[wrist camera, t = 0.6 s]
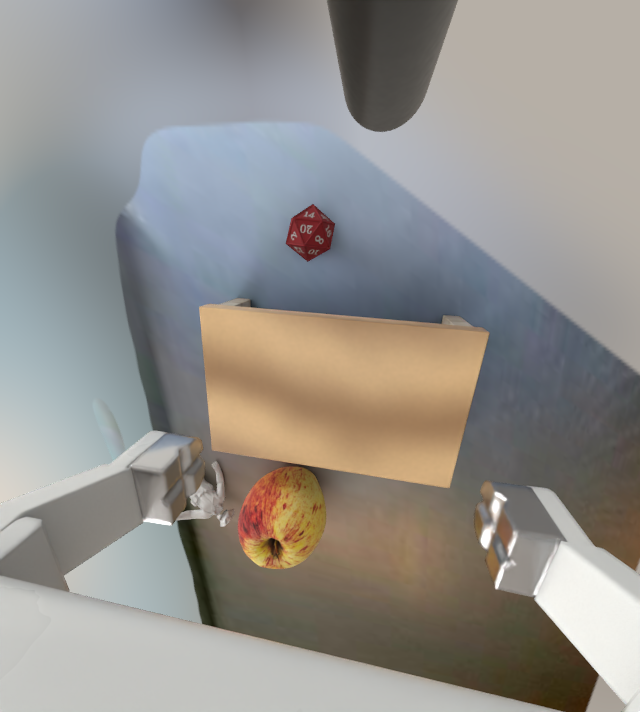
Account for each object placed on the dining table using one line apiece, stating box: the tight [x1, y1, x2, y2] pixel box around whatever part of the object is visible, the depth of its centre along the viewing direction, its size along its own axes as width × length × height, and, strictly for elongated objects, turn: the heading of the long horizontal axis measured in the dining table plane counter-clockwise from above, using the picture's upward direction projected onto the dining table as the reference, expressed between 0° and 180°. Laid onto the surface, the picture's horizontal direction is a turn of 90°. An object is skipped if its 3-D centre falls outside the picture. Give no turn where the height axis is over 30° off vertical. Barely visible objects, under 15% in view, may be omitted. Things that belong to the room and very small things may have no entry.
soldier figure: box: [176, 461, 234, 526], centre depth 37 cm, size 8×5×12 cm
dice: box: [286, 204, 335, 261], centre depth 25 cm, size 4×4×4 cm
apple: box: [238, 467, 326, 569], centre depth 32 cm, size 9×9×10 cm
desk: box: [199, 298, 489, 488], centre depth 28 cm, size 14×22×6 cm, turn 87°
